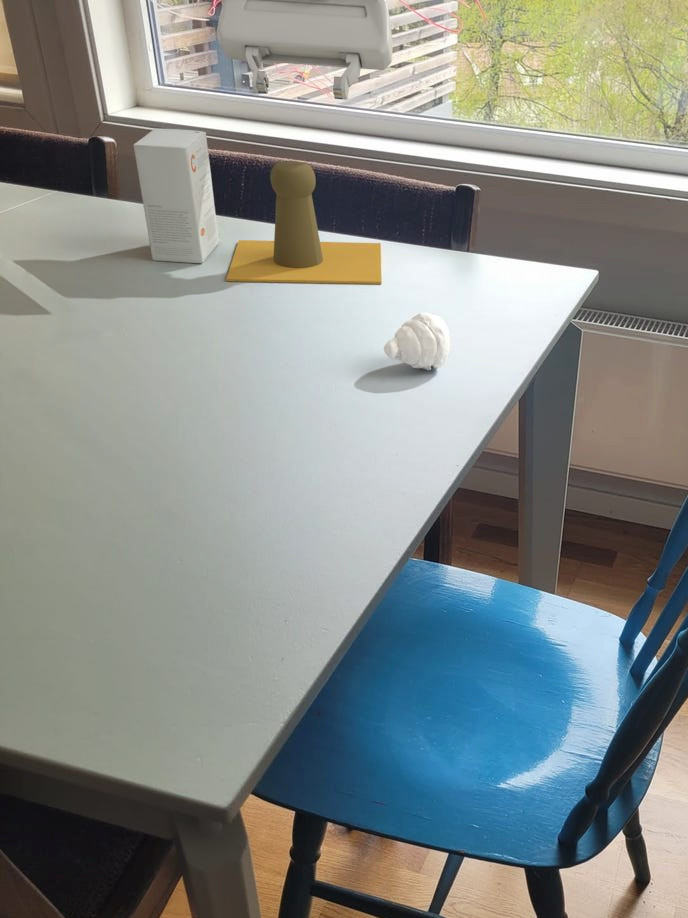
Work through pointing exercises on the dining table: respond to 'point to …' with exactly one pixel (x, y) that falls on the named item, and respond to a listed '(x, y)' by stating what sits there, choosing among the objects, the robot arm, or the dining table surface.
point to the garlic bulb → (421, 342)
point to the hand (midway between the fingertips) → (299, 93)
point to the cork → (295, 216)
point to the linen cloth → (337, 267)
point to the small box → (177, 194)
